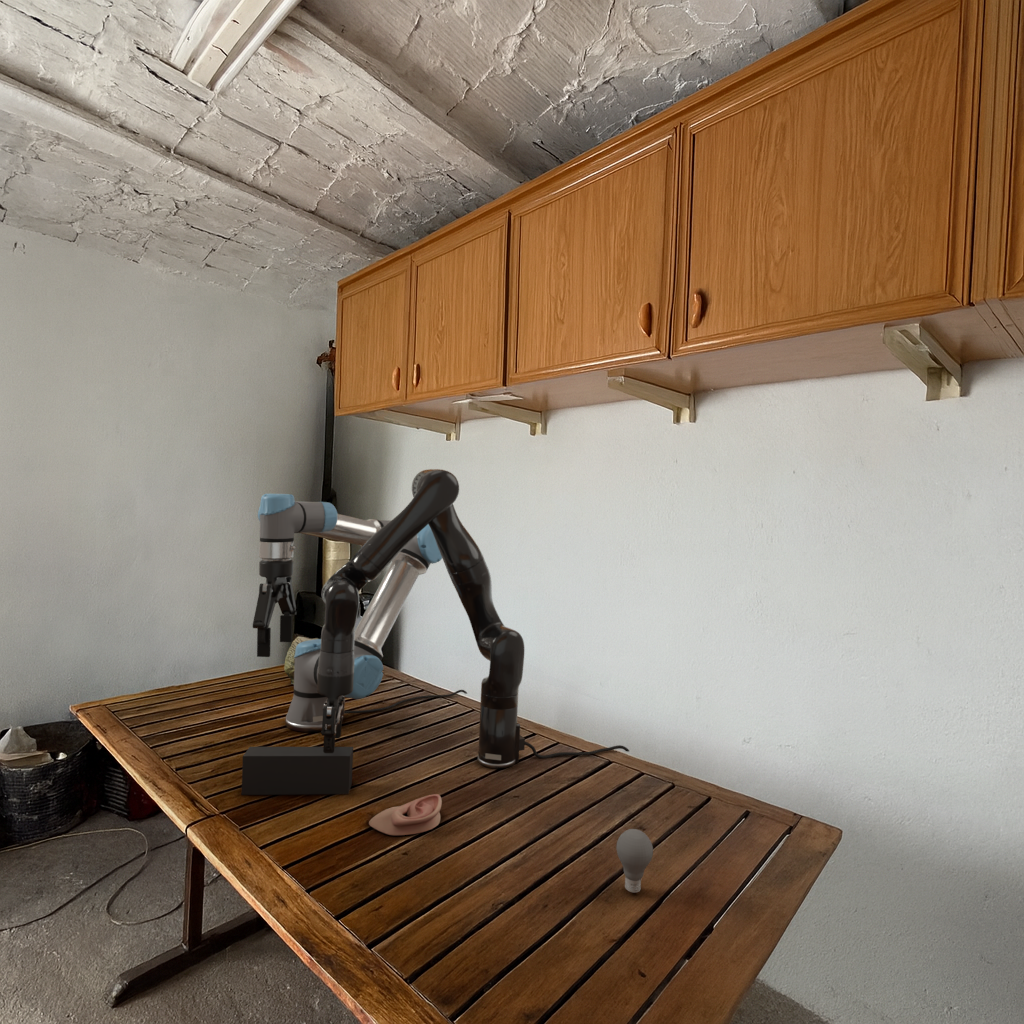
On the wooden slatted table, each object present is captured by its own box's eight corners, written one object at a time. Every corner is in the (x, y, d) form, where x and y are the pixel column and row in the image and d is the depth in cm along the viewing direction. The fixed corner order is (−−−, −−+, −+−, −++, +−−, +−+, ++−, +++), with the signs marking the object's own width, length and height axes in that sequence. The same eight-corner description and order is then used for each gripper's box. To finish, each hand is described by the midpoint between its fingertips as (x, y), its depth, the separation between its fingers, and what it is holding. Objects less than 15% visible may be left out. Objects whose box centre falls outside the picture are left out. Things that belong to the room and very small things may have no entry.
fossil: (280, 681, 212) (281, 637, 212) (331, 673, 224) (333, 631, 224) (290, 688, 205) (292, 642, 205) (343, 679, 218) (345, 636, 217)
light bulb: (610, 879, 108) (613, 822, 108) (644, 879, 109) (647, 822, 109) (619, 902, 102) (622, 840, 102) (655, 901, 103) (658, 840, 103)
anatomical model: (362, 810, 120) (386, 784, 132) (361, 831, 121) (385, 803, 132) (429, 820, 118) (447, 793, 129) (428, 841, 118) (446, 812, 129)
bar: (241, 795, 133) (242, 755, 133) (248, 784, 138) (249, 746, 138) (348, 794, 135) (350, 755, 135) (351, 783, 140) (353, 746, 140)
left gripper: (271, 566, 136) (270, 664, 137) (310, 554, 161) (308, 636, 162) (237, 565, 136) (235, 662, 137) (280, 553, 161) (279, 635, 162)
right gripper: (349, 680, 130) (345, 758, 131) (358, 662, 144) (354, 733, 145) (311, 679, 129) (307, 758, 130) (324, 661, 144) (320, 732, 144)
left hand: (275, 648), depth 150 cm, fingers open, 13 cm apart
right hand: (332, 744), depth 137 cm, fingers open, 8 cm apart
